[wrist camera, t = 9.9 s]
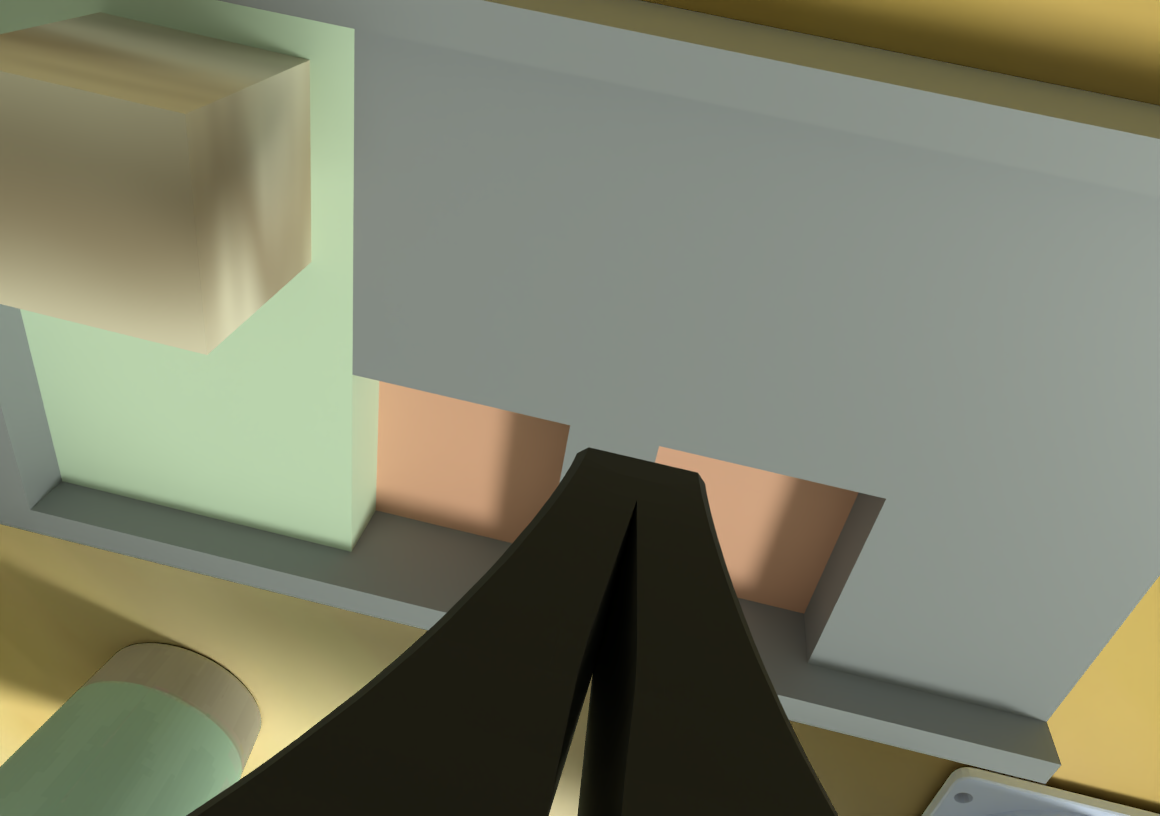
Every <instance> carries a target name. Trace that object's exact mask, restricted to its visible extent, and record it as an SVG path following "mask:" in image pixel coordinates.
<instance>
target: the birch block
mask: <svg viewBox="0 0 1160 816" xmlns="http://www.w3.org/2000/svg"><path fill="white" fill-rule="evenodd" d="M310 263H311V143H310V60H308V59H303V58H299V57H295V56H290V55H286V54H282V53H277V52H273V51H268V50H264V49H260V48H255V47H251V46H247V45H242V44H238V43H233V42H229V41H225V40H220V39H216V38H211V37H207V36H203V35H198V34H194V33H190V32H185V31H181V30H176V29H172V28H168V27H163V26H159V25H154V24H150V23H146V22H141V21H137V20H133V19H128V18H124V17H119V16H115V15H111V14H106V13H102V12H98V13H94V14H89V15H85V16H80V17H76V18H71V19H67V20H62V21H58V22H53V23H49V24H44V25H40V26H35V27H31V28H26V29H22V30H17V31H13V32H8V33H4V34H0V304H2V305H6V306H11V307H15V308H19V309H23V310H27V311H31V312H35V313H39V314H43V315H47V316H51V317H55V318H59V319H63V320H67V321H71V322H75V323H79V324H83V325H87V326H92V327H96V328H100V329H104V330H108V331H112V332H116V333H120V334H124V335H128V336H132V337H136V338H140V339H144V340H148V341H152V342H156V343H160V344H164V345H169V346H173V347H177V348H181V349H185V350H189V351H193V352H197V353H201V354H205V355H208V354H209V353H210V352H211V351H212V350H213V349H215V348H216V347H217V346H218V345H219V344H220V343H221V342H222V341H224V340H225V339H226V338H227V337H228V336H229V335H230V334H231V333H232V332H234V331H235V330H236V329H237V328H238V327H239V326H240V325H241V324H243V323H244V322H245V321H246V320H247V319H248V318H249V317H250V316H251V315H253V314H254V313H255V312H256V311H257V310H258V309H259V308H260V307H262V306H263V305H264V304H265V303H266V302H267V301H268V300H269V299H270V298H272V297H273V296H274V295H275V294H276V293H277V292H278V291H279V290H281V289H282V288H283V287H284V286H285V285H286V284H287V283H288V282H289V281H291V280H292V279H293V278H294V277H295V276H296V275H297V274H298V273H300V272H301V271H302V270H303V269H304V268H305V267H306V266H307V265H308V264H310Z"/></svg>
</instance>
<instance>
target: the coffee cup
mask: <svg viewBox="0 0 1160 816" xmlns="http://www.w3.org/2000/svg"><path fill="white" fill-rule="evenodd" d="M260 729H261V715H260V711H259V708H258V706H257V704H256V702H255V700H254V698H253V697H252V695H251V694H250V692H249V691H248V690H247V689H246V687H245V686H244V685H243V684H242V683H241V682H240V681H239V680H238V679H237V678H236V677H234V676H233V675H232V674H231V673H230V672H228V671H227V670H226V669H224V668H223V667H221V666H220V665H218V664H216V663H215V662H213V661H211V660H210V659H208V658H206V657H204V656H201V655H199V654H197V653H194V652H192V651H189V650H186V649H183V648H180V647H176V646H172V645H167V644H158V643H142V644H135V645H131V646H128V647H125V648H123V649H121V650H120V651H118V652H117V653H116V654H115V655H114V656H113V657H112V658H111V659H110V660H109V661H108V662H107V663H106V664H105V665H104V666H103V667H101V668H100V669H99V670H98V671H97V672H96V673H95V674H94V675H93V676H92V677H91V678H90V679H89V680H88V681H87V682H86V683H85V684H84V685H83V686H82V687H81V688H80V689H79V690H78V691H77V692H76V693H75V694H74V695H73V696H72V697H71V698H70V699H69V700H68V701H67V702H66V703H65V704H64V705H63V706H62V707H61V708H60V709H59V710H58V711H56V712H55V713H54V714H53V715H52V716H51V717H50V718H49V719H48V720H47V721H46V722H45V723H44V724H43V725H42V726H41V727H40V728H39V729H38V730H37V731H36V732H35V733H34V734H33V735H32V736H31V737H30V738H29V739H28V740H27V741H26V742H25V743H24V744H23V745H22V746H21V747H20V748H19V749H18V750H17V751H16V752H15V753H14V754H13V755H12V756H11V757H10V758H9V759H8V760H7V761H6V762H5V763H4V764H3V765H2V766H1V767H0V816H186V815H188V814H189V813H191V812H192V811H194V810H195V809H197V808H198V807H200V806H201V805H203V804H204V803H206V802H207V801H209V800H210V799H212V798H213V797H215V796H216V795H218V794H219V793H221V792H222V791H224V790H225V789H227V788H228V787H230V786H231V785H233V784H234V783H236V782H237V781H239V779H240V777H241V774H242V772H243V770H244V767H245V765H246V762H247V760H248V758H249V755H250V753H251V751H252V748H253V746H254V744H255V741H256V739H257V736H258V734H259V732H260Z"/></svg>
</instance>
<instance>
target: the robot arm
mask: <svg viewBox="0 0 1160 816" xmlns="http://www.w3.org/2000/svg"><path fill="white" fill-rule="evenodd" d="M592 674H593V676H592ZM591 677H592V685H591V694H590V703H589V713H588V722H587V731H586V741H585V750H584V760H583V769H582V779H581V788H580V798H579V807H578V816H838V814H837V812H836V811H835V809H834V807H833V805H832V803H831V801H830V799H829V798H828V796H827V794H826V792H825V790H824V788H823V786H822V785H821V783H820V781H819V779H818V777H817V775H816V773H815V772H814V770H813V768H812V766H811V764H810V762H809V760H808V758H807V756H806V754H805V752H804V750H803V748H802V746H801V744H800V742H799V740H798V738H797V736H796V734H795V732H794V730H793V728H792V726H791V724H790V721H789V719H788V717H787V715H786V713H785V711H784V709H783V706H782V704H781V702H780V700H779V698H778V695H777V693H776V691H775V689H774V686H773V684H772V682H771V680H770V678H769V675H768V673H767V671H766V669H765V666H764V664H763V661H762V659H761V657H760V654H759V652H758V649H757V647H756V645H755V642H754V640H753V637H752V635H751V632H750V629H749V627H748V624H747V621H746V619H745V616H744V613H743V611H742V608H741V605H740V603H739V600H738V597H737V595H736V592H735V589H734V587H733V584H732V581H731V578H730V575H729V572H728V569H727V566H726V563H725V560H724V556H723V553H722V550H721V547H720V543H719V540H718V537H717V533H716V530H715V526H714V522H713V518H712V514H711V510H710V506H709V502H708V497H707V492H706V486H705V483H704V481H703V480H702V478H701V476H700V475H699V473H698V472H693V471H689V470H685V469H680V468H676V467H672V466H667V465H663V464H659V463H655V462H650V461H646V460H642V459H637V458H633V457H629V456H624V455H620V454H616V453H611V452H607V451H603V450H599V449H594V448H590V447H588V448H586V449H584V450H582V451H580V452H578V453H577V454H576V456H575V458H574V460H573V462H572V464H571V466H570V468H569V469H568V471H567V473H566V474H565V476H564V477H563V479H562V480H561V482H560V483H559V485H558V486H557V488H556V489H555V491H554V492H553V493H552V495H551V496H550V498H549V499H548V500H547V502H546V503H545V504H544V505H543V507H542V508H541V509H540V511H539V512H538V513H537V515H536V516H535V517H534V518H533V520H532V521H531V522H530V523H529V524H528V526H527V527H526V528H525V529H524V530H523V531H522V533H521V534H520V535H519V536H518V537H517V538H516V540H515V541H514V542H513V543H512V544H511V545H510V547H509V548H508V549H507V550H506V551H505V552H504V554H503V555H502V556H501V557H500V558H499V559H498V560H497V562H496V563H495V564H494V565H493V566H492V567H491V568H490V569H489V570H488V571H487V572H486V573H485V574H484V575H483V576H482V577H481V579H480V580H479V581H478V582H477V583H476V584H475V585H474V586H473V587H472V588H471V589H470V590H469V591H468V592H467V593H466V594H465V595H464V596H463V597H462V598H461V599H460V600H459V601H458V602H457V603H456V604H455V605H454V606H453V607H452V608H451V609H450V610H449V611H448V612H447V613H446V614H445V615H444V616H443V617H442V618H441V619H440V620H439V621H438V622H437V623H436V624H435V625H434V626H432V627H431V628H430V629H429V630H428V631H427V632H426V633H425V634H424V635H423V636H422V637H421V638H419V639H418V640H417V641H416V642H415V643H414V644H413V645H412V646H411V647H410V648H408V649H407V650H406V651H405V652H404V653H403V654H402V655H401V656H399V657H398V658H397V659H396V660H395V661H394V662H392V663H391V664H390V665H389V666H388V667H387V668H385V669H384V670H383V671H382V672H381V673H379V674H378V675H377V676H376V677H375V678H374V679H372V680H371V681H370V682H369V683H368V684H367V685H365V686H364V687H363V688H362V689H360V690H359V691H358V692H357V693H356V694H354V695H353V696H352V697H350V698H349V699H348V700H347V701H345V702H344V703H343V704H341V705H340V706H339V707H338V708H336V709H335V710H334V711H332V712H331V713H330V714H329V715H327V716H326V717H325V718H323V719H322V720H321V721H320V722H318V723H317V724H316V725H314V726H313V727H312V728H311V729H309V730H308V731H307V732H305V733H304V734H303V735H302V736H300V737H299V738H298V739H296V740H295V741H294V742H292V743H291V744H290V745H288V746H287V747H285V748H284V749H283V750H281V751H280V752H279V753H277V754H276V755H274V756H273V757H272V758H270V759H269V760H268V761H266V762H265V763H263V764H262V765H261V766H259V767H258V768H256V769H255V770H254V771H252V772H251V773H249V774H248V775H246V776H245V777H243V778H242V779H240V780H239V781H237V782H236V783H234V784H233V785H231V786H230V787H228V788H227V789H225V790H224V791H222V792H221V793H219V794H218V795H216V796H215V797H213V798H212V799H210V800H209V801H207V802H206V803H204V804H203V805H201V806H200V807H198V808H197V809H195V810H194V811H192V812H191V813H189V814H188V815H186V816H549V812H550V809H551V806H552V803H553V799H554V796H555V793H556V790H557V787H558V783H559V780H560V777H561V774H562V770H563V767H564V764H565V761H566V758H567V754H568V751H569V748H570V745H571V742H572V738H573V735H574V732H575V729H576V725H577V722H578V719H579V716H580V712H581V709H582V706H583V703H584V700H585V696H586V693H587V690H588V687H589V683H590V680H591ZM922 816H1160V814H1158V813H1154V812H1150V811H1146V810H1141V809H1137V808H1133V807H1129V806H1125V805H1121V804H1117V803H1113V802H1109V801H1105V800H1101V799H1097V798H1093V797H1089V796H1085V795H1081V794H1077V793H1073V792H1069V791H1065V790H1061V789H1057V788H1053V787H1049V786H1045V785H1041V784H1037V783H1033V782H1029V781H1025V780H1021V779H1017V778H1013V777H1009V776H1005V775H1001V774H997V773H993V772H989V771H985V770H981V769H977V768H972V767H963V768H959V769H956V770H955V771H954V772H953V773H951V775H950V776H949V778H948V779H947V780H946V782H945V783H944V785H943V786H942V787H941V789H940V790H939V792H938V793H937V794H936V796H935V797H934V799H933V800H932V802H931V803H930V804H929V806H928V807H927V809H926V810H925V811H924V813H923V814H922Z"/></svg>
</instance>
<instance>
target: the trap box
mask: <svg viewBox="0 0 1160 816" xmlns="http://www.w3.org/2000/svg"><path fill="white" fill-rule="evenodd" d="M98 12H102V13H106V14H111V15H115V16H119V17H124V18H128V19H133V20H137V21H141V22H146V23H150V24H154V25H159V26H163V27H168V28H172V29H176V30H181V31H185V32H190V33H194V34H198V35H203V36H207V37H211V38H216V39H220V40H225V41H229V42H233V43H238V44H242V45H247V46H251V47H255V48H260V49H264V50H268V51H273V52H277V53H282V54H286V55H290V56H295V57H299V58H303V59H308V60H310V143H311V263H310V264H308V265H307V266H306V267H305V268H304V269H303V270H302V271H301V272H300V273H298V274H297V275H296V276H295V277H294V278H293V279H292V280H291V281H289V282H288V283H287V284H286V285H285V286H284V287H283V288H282V289H281V290H279V291H278V292H277V293H276V294H275V295H274V296H273V297H272V298H270V299H269V300H268V301H267V302H266V303H265V304H264V305H263V306H262V307H260V308H259V309H258V310H257V311H256V312H255V313H254V314H253V315H251V316H250V317H249V318H248V319H247V320H246V321H245V322H244V323H243V324H241V325H240V326H239V327H238V328H237V329H236V330H235V331H234V332H232V333H231V334H230V335H229V336H228V337H227V338H226V339H225V340H224V341H222V342H221V343H220V344H219V345H218V346H217V347H216V348H215V349H213V350H212V351H211V352H210V353H209V354H208V355H205V354H201V353H197V352H193V351H189V350H185V349H181V348H177V347H173V346H169V345H164V344H160V343H156V342H152V341H148V340H144V339H140V338H136V337H132V336H128V335H124V334H120V333H116V332H112V331H108V330H104V329H100V328H96V327H92V326H87V325H83V324H79V323H75V322H71V321H67V320H63V319H59V318H55V317H51V316H47V315H43V314H39V313H35V312H31V311H27V310H23V309H19V308H15V307H11V306H6V305H2V304H0V524H2V525H6V526H10V527H14V528H18V529H22V530H26V531H30V532H35V533H39V534H43V535H47V536H51V537H55V538H59V539H63V540H67V541H71V542H75V543H79V544H83V545H87V546H91V547H95V548H99V549H103V550H107V551H111V552H115V553H119V554H123V555H127V556H131V557H135V558H139V559H143V560H147V561H151V562H155V563H159V564H163V565H167V566H171V567H175V568H179V569H183V570H187V571H191V572H195V573H199V574H203V575H207V576H211V577H215V578H219V579H223V580H228V581H232V582H236V583H240V584H244V585H248V586H252V587H256V588H260V589H264V590H268V591H272V592H276V593H280V594H284V595H288V596H292V597H296V598H300V599H304V600H308V601H312V602H316V603H320V604H324V605H328V606H332V607H336V608H340V609H344V610H348V611H352V612H356V613H360V614H364V615H368V616H372V617H376V618H380V619H384V620H388V621H392V622H396V623H400V624H404V625H408V626H412V627H416V628H421V629H425V630H429V629H430V628H431V627H432V626H434V625H435V624H436V623H437V622H438V621H439V620H440V619H441V618H442V617H443V616H444V615H445V614H446V613H447V612H448V611H449V610H450V609H451V608H452V607H453V606H454V605H455V604H456V603H457V602H458V601H459V600H460V599H461V598H462V597H463V596H464V595H465V594H466V593H467V592H468V591H469V590H470V589H471V588H472V587H473V586H474V585H475V584H476V583H477V582H478V581H479V580H480V579H481V577H482V576H483V575H484V574H485V573H486V572H487V571H488V570H489V569H490V568H491V567H492V566H493V565H494V564H495V563H496V562H497V560H498V559H499V558H500V557H501V556H502V555H503V554H504V552H505V551H506V550H507V549H508V548H509V547H510V545H511V544H512V543H513V542H514V541H515V540H516V538H517V537H518V536H519V535H520V534H521V533H522V531H523V530H524V529H525V528H526V527H527V526H528V524H529V523H530V522H531V521H532V520H533V518H534V517H535V516H536V515H537V513H538V512H539V511H540V509H541V508H542V507H543V505H544V504H545V503H546V502H547V500H548V499H549V498H550V496H551V495H552V493H553V492H554V491H555V489H556V488H557V486H558V485H559V483H560V482H561V480H562V479H563V477H564V476H565V474H566V473H567V471H568V469H569V468H570V466H571V464H572V462H573V460H574V458H575V456H576V454H577V453H578V452H580V451H582V450H584V449H586V448H588V447H590V448H594V449H599V450H603V451H607V452H611V453H616V454H620V455H624V456H629V457H633V458H637V459H642V460H646V461H650V462H655V463H659V464H663V465H667V466H672V467H676V468H680V469H685V470H689V471H693V472H698V473H699V475H700V476H701V478H702V480H703V481H704V483H705V486H706V492H707V497H708V502H709V506H710V510H711V514H712V518H713V522H714V526H715V530H716V533H717V537H718V540H719V543H720V547H721V550H722V553H723V556H724V560H725V563H726V566H727V569H728V572H729V575H730V578H731V581H732V584H733V587H734V589H735V592H736V595H737V597H738V600H739V603H740V605H741V608H742V611H743V613H744V616H745V619H746V621H747V624H748V627H749V629H750V632H751V635H752V637H753V640H754V642H755V645H756V647H757V649H758V652H759V654H760V657H761V659H762V661H763V664H764V666H765V669H766V671H767V673H768V675H769V678H770V680H771V682H772V684H773V686H774V689H775V691H776V693H777V695H778V698H779V700H780V702H781V704H782V706H783V709H784V711H785V713H786V715H787V717H788V719H789V720H790V721H794V722H798V723H802V724H806V725H811V726H815V727H819V728H823V729H827V730H831V731H835V732H839V733H843V734H847V735H851V736H855V737H859V738H863V739H867V740H871V741H875V742H879V743H883V744H887V745H891V746H895V747H899V748H903V749H907V750H911V751H915V752H919V753H923V754H927V755H931V756H935V757H939V758H943V759H947V760H951V761H955V762H959V763H963V764H967V765H971V766H975V767H979V768H983V769H987V770H991V771H995V772H999V773H1004V774H1008V775H1012V776H1016V777H1020V778H1024V779H1028V780H1032V781H1036V782H1040V783H1044V784H1046V783H1047V781H1048V780H1049V779H1050V778H1051V777H1052V775H1053V774H1054V773H1055V772H1056V771H1057V769H1058V768H1059V767H1060V766H1061V763H1060V760H1059V757H1058V754H1057V751H1056V748H1055V745H1054V742H1053V739H1052V736H1051V734H1050V731H1049V728H1048V725H1047V721H1048V719H1049V718H1050V717H1051V715H1052V714H1053V713H1054V712H1055V710H1056V709H1057V708H1058V706H1059V705H1060V704H1061V702H1062V701H1063V700H1064V699H1065V697H1066V696H1067V695H1068V693H1069V692H1070V691H1071V690H1072V688H1073V687H1074V686H1075V684H1076V683H1077V682H1078V680H1079V679H1080V678H1081V677H1082V675H1083V674H1084V673H1085V671H1086V670H1087V669H1088V668H1089V666H1090V665H1091V664H1092V662H1093V661H1094V660H1095V658H1096V657H1097V656H1098V655H1099V653H1100V652H1101V651H1102V649H1103V648H1104V647H1105V646H1106V644H1107V643H1108V642H1109V640H1110V639H1111V638H1112V636H1113V635H1114V634H1115V633H1116V631H1117V630H1118V629H1119V627H1120V626H1121V625H1122V624H1123V622H1124V621H1125V620H1126V618H1127V617H1128V616H1129V614H1130V613H1131V612H1132V611H1133V609H1134V608H1135V607H1136V605H1137V604H1138V603H1139V601H1140V600H1141V599H1142V598H1143V596H1144V595H1145V594H1146V592H1147V591H1148V590H1149V589H1150V587H1151V586H1152V585H1153V583H1154V582H1155V581H1156V579H1157V578H1158V577H1159V576H1160V106H1159V105H1154V104H1149V103H1144V102H1139V101H1134V100H1129V99H1124V98H1119V97H1114V96H1109V95H1105V94H1100V93H1095V92H1090V91H1085V90H1080V89H1075V88H1070V87H1065V86H1060V85H1055V84H1050V83H1045V82H1040V81H1035V80H1031V79H1026V78H1021V77H1016V76H1011V75H1006V74H1001V73H996V72H991V71H986V70H981V69H976V68H971V67H966V66H961V65H957V64H952V63H947V62H942V61H937V60H932V59H927V58H922V57H917V56H912V55H907V54H902V53H897V52H892V51H887V50H883V49H878V48H873V47H868V46H863V45H858V44H853V43H848V42H843V41H838V40H833V39H828V38H823V37H818V36H814V35H809V34H804V33H799V32H794V31H789V30H784V29H779V28H774V27H769V26H764V25H759V24H754V23H749V22H744V21H740V20H735V19H730V18H725V17H720V16H715V15H710V14H705V13H700V12H695V11H690V10H685V9H680V8H675V7H670V6H666V5H661V4H656V3H651V2H646V1H641V0H0V34H4V33H8V32H13V31H17V30H22V29H26V28H31V27H35V26H40V25H44V24H49V23H53V22H58V21H62V20H67V19H71V18H76V17H80V16H85V15H89V14H94V13H98Z"/></svg>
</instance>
